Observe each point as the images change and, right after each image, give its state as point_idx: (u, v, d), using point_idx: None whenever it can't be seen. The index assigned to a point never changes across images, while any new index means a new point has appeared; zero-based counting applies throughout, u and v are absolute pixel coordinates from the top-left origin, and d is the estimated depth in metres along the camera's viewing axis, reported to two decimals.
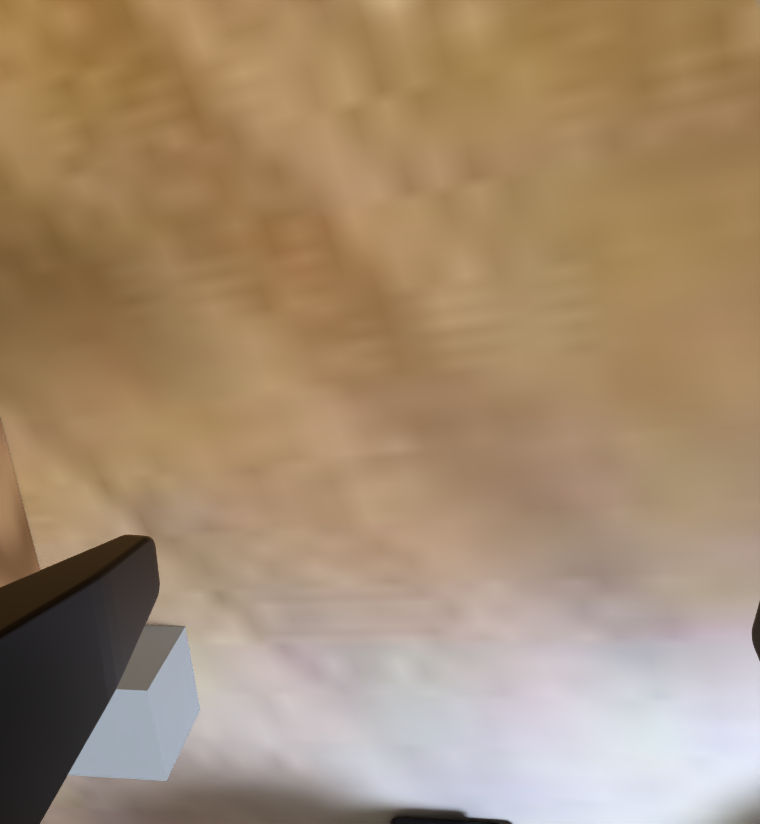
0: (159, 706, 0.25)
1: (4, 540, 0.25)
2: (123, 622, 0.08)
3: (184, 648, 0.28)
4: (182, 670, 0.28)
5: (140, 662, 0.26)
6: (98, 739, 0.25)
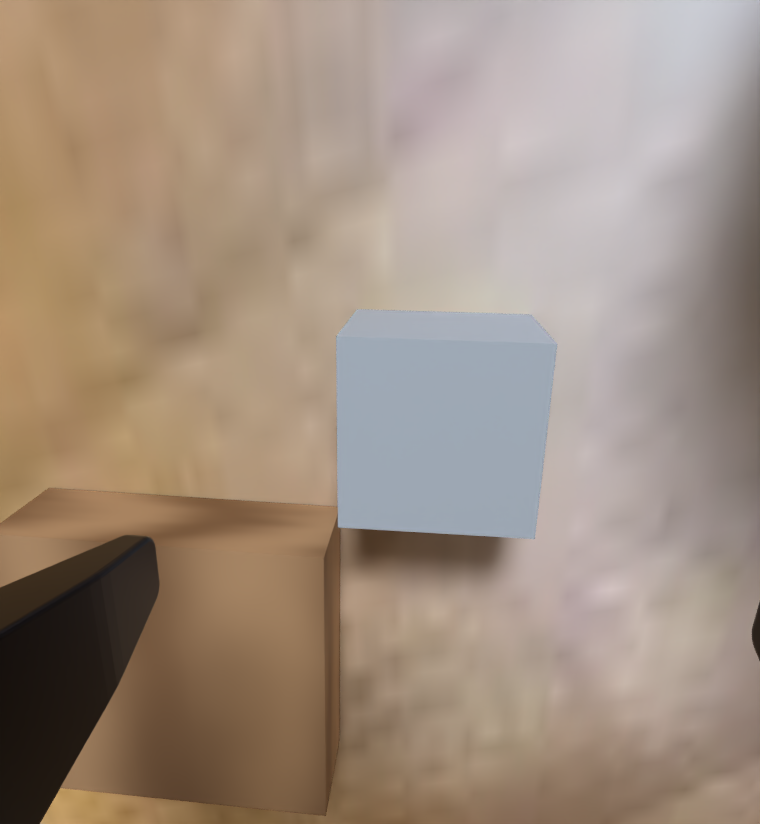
0: (398, 333, 0.14)
1: (175, 519, 0.18)
2: (123, 622, 0.08)
3: (385, 312, 0.17)
4: (413, 316, 0.16)
5: None
6: (451, 448, 0.14)
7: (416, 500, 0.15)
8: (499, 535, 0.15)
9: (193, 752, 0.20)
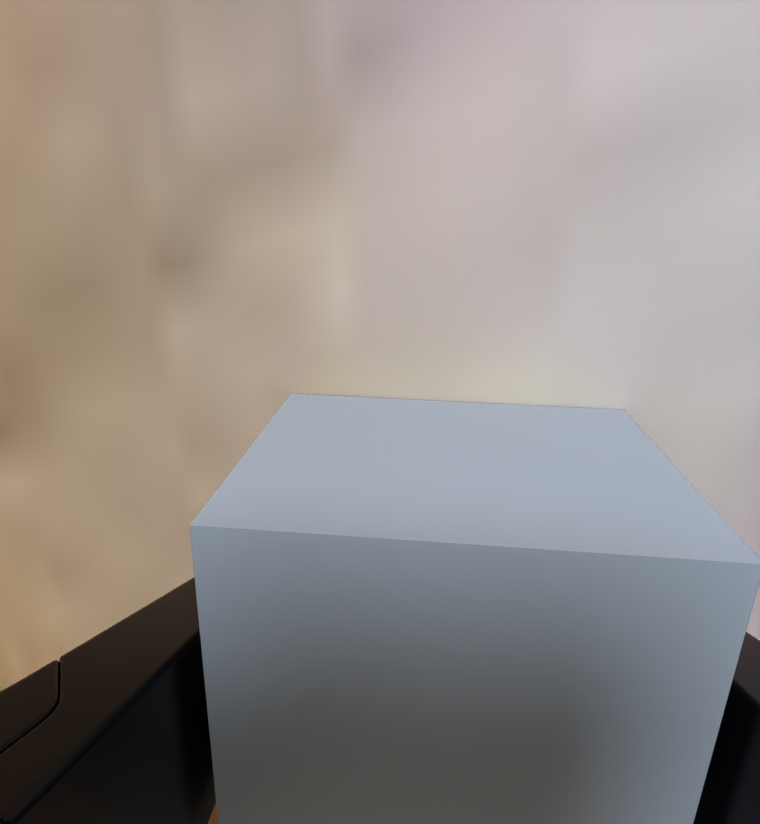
0: (351, 505, 0.06)
1: None
2: None
3: (341, 407, 0.09)
4: (394, 423, 0.08)
5: None
6: (476, 771, 0.06)
7: None
8: None
9: None
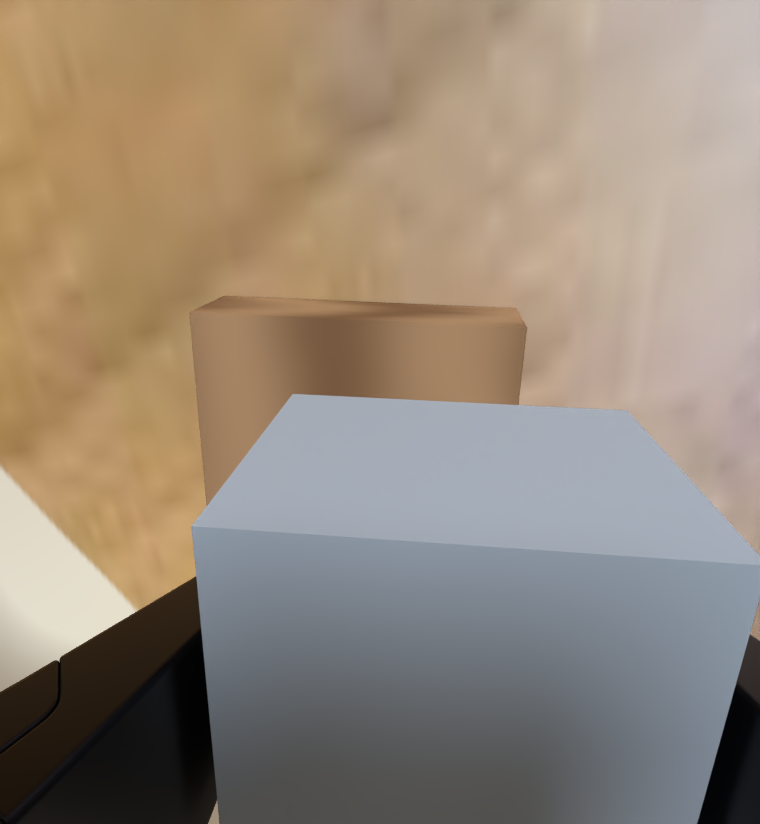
0: (353, 504, 0.06)
1: (363, 310, 0.19)
2: None
3: (343, 408, 0.09)
4: (396, 423, 0.08)
5: None
6: (479, 773, 0.06)
7: None
8: None
9: None
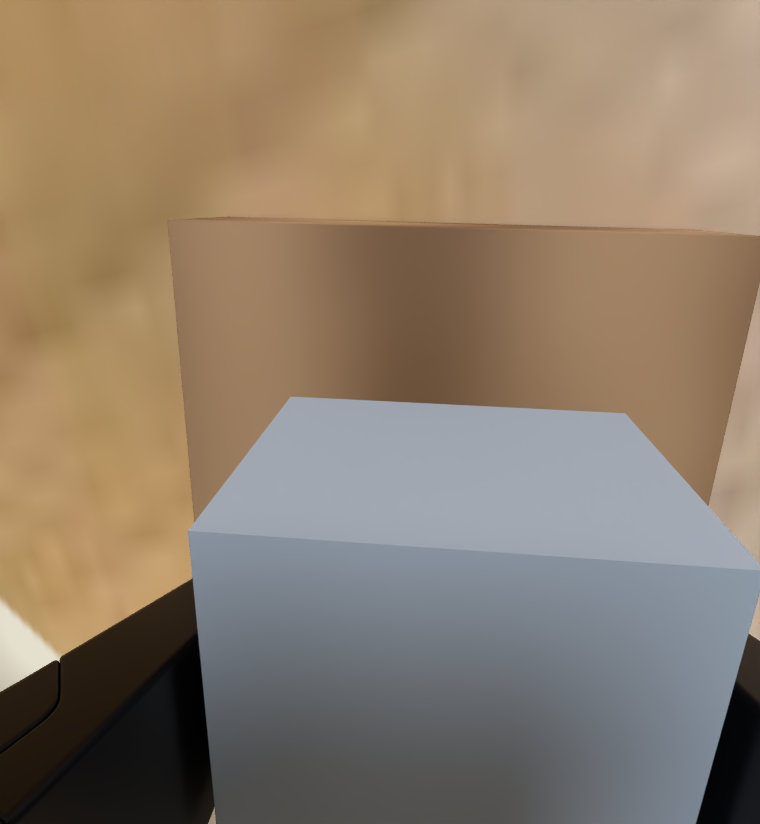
0: (350, 510, 0.06)
1: (459, 225, 0.11)
2: None
3: (341, 411, 0.09)
4: (394, 427, 0.08)
5: None
6: (476, 778, 0.06)
7: None
8: None
9: None
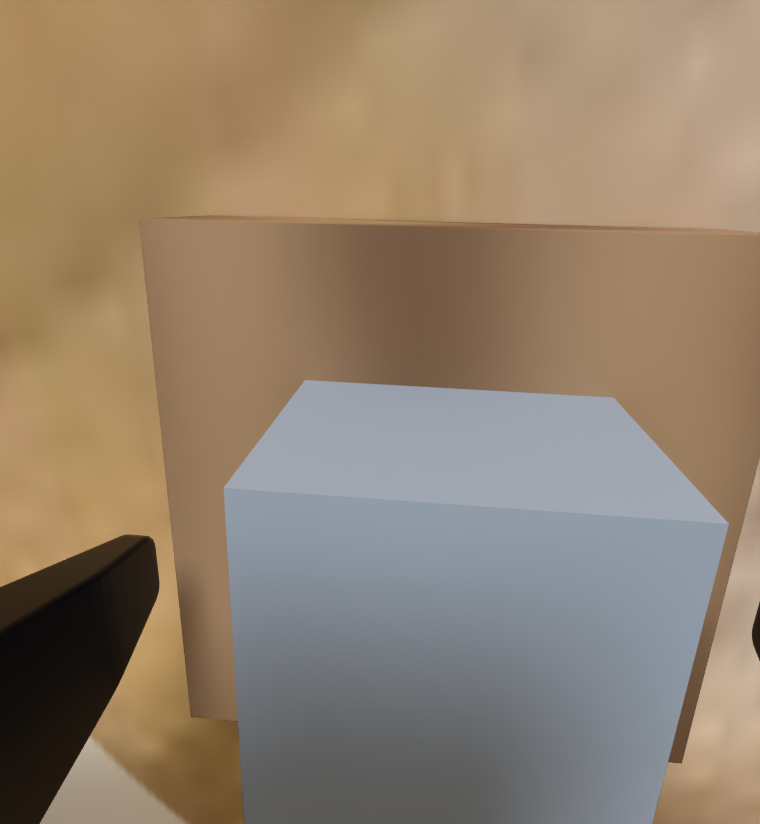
0: (365, 473, 0.07)
1: (464, 225, 0.10)
2: (123, 622, 0.08)
3: (352, 392, 0.09)
4: (401, 407, 0.09)
5: None
6: (474, 714, 0.07)
7: (400, 799, 0.07)
8: None
9: None
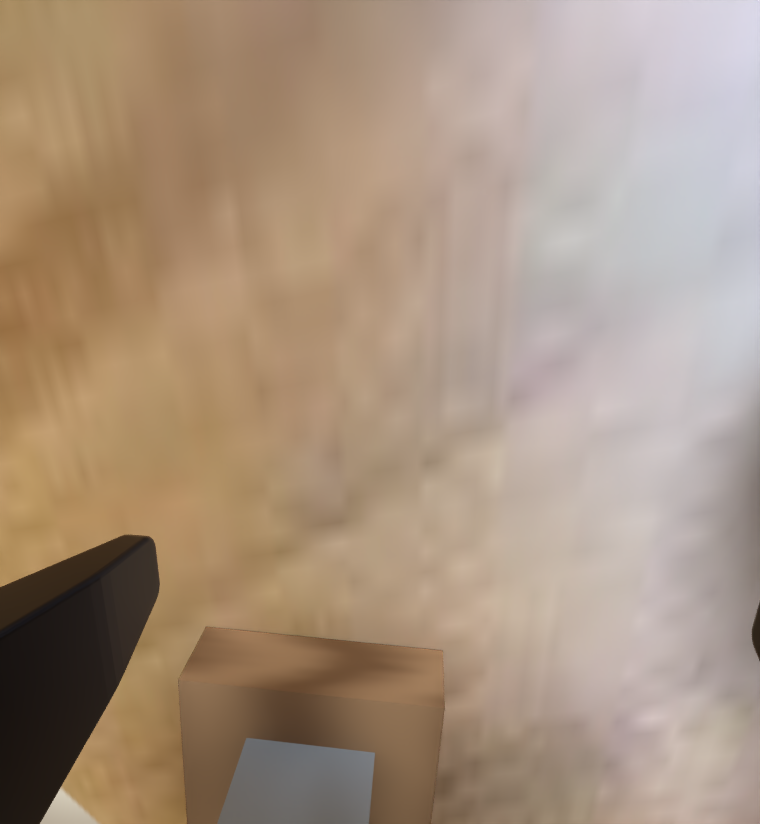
0: None
1: (319, 664, 0.24)
2: (123, 622, 0.08)
3: (264, 752, 0.22)
4: (282, 767, 0.22)
5: None
6: None
7: None
8: None
9: None
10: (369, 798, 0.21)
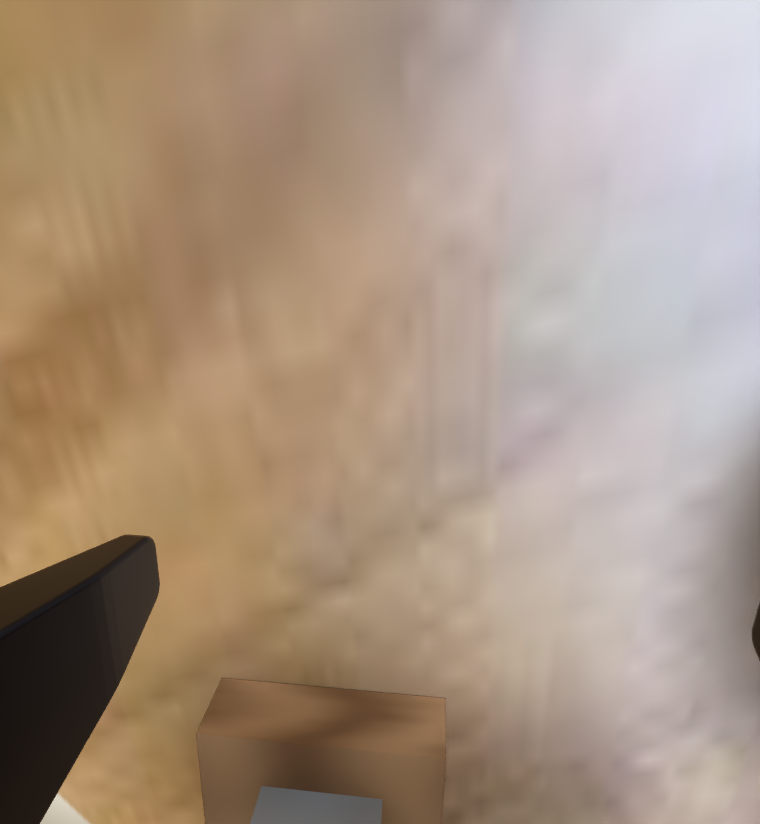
0: None
1: (328, 715, 0.25)
2: (123, 622, 0.08)
3: (278, 800, 0.24)
4: (295, 816, 0.23)
5: None
6: None
7: None
8: None
9: None
10: None
